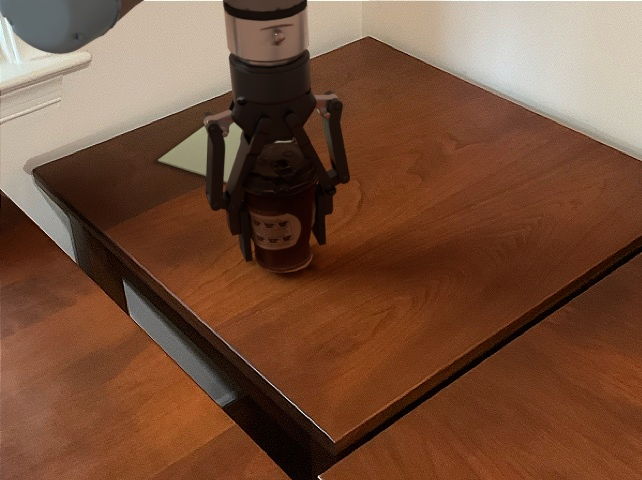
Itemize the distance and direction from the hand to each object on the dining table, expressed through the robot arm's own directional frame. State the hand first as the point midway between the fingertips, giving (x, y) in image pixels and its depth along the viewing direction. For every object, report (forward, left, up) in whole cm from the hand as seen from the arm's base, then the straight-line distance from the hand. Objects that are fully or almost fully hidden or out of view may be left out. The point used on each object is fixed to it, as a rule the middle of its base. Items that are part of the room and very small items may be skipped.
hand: (283, 245), depth 90 cm
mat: (-20, +17, -2) cm, 26 cm away
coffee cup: (0, 0, -2) cm, 2 cm away
